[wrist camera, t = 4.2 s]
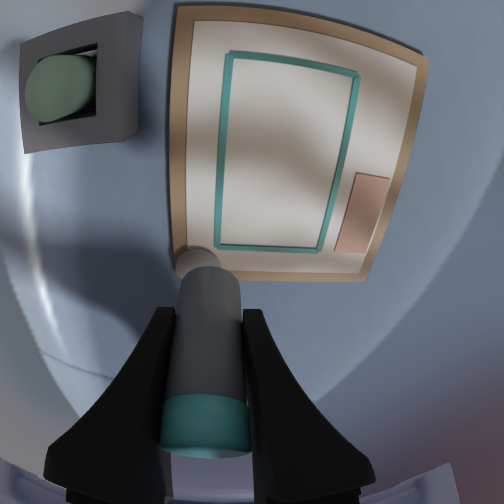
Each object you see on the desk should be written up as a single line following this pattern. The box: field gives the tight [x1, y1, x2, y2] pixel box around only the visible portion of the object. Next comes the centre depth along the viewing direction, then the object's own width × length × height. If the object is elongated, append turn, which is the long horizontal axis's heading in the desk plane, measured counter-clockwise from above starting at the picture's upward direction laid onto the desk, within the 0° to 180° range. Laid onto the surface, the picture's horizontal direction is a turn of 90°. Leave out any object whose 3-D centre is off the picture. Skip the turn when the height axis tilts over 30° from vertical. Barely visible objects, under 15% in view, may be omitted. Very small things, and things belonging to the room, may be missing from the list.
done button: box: [25, 55, 97, 122], centre depth 9 cm, size 3×3×3 cm
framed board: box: [169, 6, 429, 282], centre depth 16 cm, size 18×15×1 cm
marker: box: [159, 266, 252, 459], centre depth 9 cm, size 3×3×7 cm
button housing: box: [19, 11, 143, 154], centre depth 10 cm, size 7×7×2 cm
